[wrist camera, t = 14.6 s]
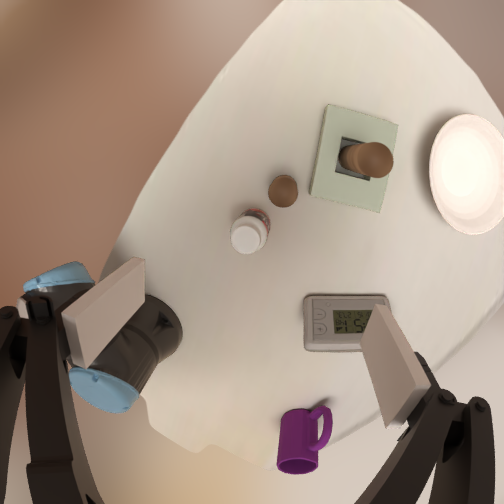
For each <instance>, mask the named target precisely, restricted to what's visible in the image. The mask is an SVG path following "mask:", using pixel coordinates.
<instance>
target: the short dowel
mask: <svg viewBox="0 0 504 504" xmlns="http://www.w3.org/2000/svg"><path fill="white" fill-rule="evenodd" d="M268 195H269V198H270V200H271V202H272V203H273V204H274V205H276V206H278V207H289V206H291V205H292V204H293V203H294V202H295V201H296V199H297V196H298V190H297V184H296V182H295V180H294V179H293V178H292V177H290V176H287V175H281V176H278V177H277V178H276V179H275V180H274V181H273V182H272V184H271V185H270V187H269V191H268Z"/></svg>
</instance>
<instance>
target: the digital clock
mask: <svg viewBox="0 0 504 504" xmlns="http://www.w3.org/2000/svg"><path fill="white" fill-rule="evenodd" d="M375 304H380V305H386V306H387V307H388V308H389V310H390V312H391V308H390V304H389V301H388V299H387V298H386V297H384V296H310V297H308V298H305V300H304V348H305V349H306V350H307V351H310V352H362V349H361V346H360V341H361V338H362V336H363V334H364V331H365V329H366V326H367V324H368V321H369V319H370V316H371V314H372V311H373V308H374V306H375ZM391 313H392V312H391Z"/></svg>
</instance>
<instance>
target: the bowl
mask: <svg viewBox="0 0 504 504" xmlns="http://www.w3.org/2000/svg"><path fill="white" fill-rule="evenodd" d="M429 178H430V186H431V190H432V195H433V198H434V201H435V203H436V206H437V208H438V210H439V211H440V213H441V215H442V216H443V218H444V219H445V220H446V221H447V222H448V223H449V225H450V226H452V227H453V228H455V229H456V230H457V231H460V232H462V233H465V234H472V235H476V234H481V233H485V232H487V231H489V230H491V229H492V228H493V227H495V226H496V225H497V224H498V223H499V222H500V220H501V219H502V218H503V217H504V138H503V136H502V135H501V134H500V132H499V131H498V130H497V128H496V127H494V126H493V125H492V124H491V123H490V122H489V121H487V120H485V119H484V118H482V117H480V116H477V115H474V114H462V115H458V116H455V117H454V118H452V119H450V120H448V121H447V122H446V123H445V124H444V125H443V126H442V127H441V129H440V131H439V132H438V134H437V136H436V138H435V140H434V143H433V146H432V149H431V155H430V160H429Z"/></svg>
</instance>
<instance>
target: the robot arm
mask: <svg viewBox="0 0 504 504" xmlns="http://www.w3.org/2000/svg"><path fill="white" fill-rule="evenodd" d="M23 287H24V292H25V293H26V294H24V295H23V296H21V297H20V298H18V300H17V306H16V307H13V306H5V307H2V308H1V309H0V504H4V499H5V494H6V485H7V473H8V463H9V455H10V448H11V441H12V436H13V430H14V425H15V420H16V416H17V410H18V407H19V403H20V398H21V395H22V391H23V387H24V384H25V392H26V394H25V396H26V418H27V430H28V440H29V447H30V455H31V463H29V464H27V467H26V472H27V478H28V484H29V488H30V493H31V497H32V501H33V504H104V502H103V500H102V498H101V497H100V495H99V493H98V490H97V488H96V485H95V482H94V479H93V477H92V473H91V471H90V467H89V464H88V461H87V457H86V454H85V450H84V447H83V443H82V439H81V436H80V431H79V427H78V423H77V418H76V414H75V409H74V404H73V398H72V393H71V386H72V388H73V389H74V390H75V391H76V392H77V394H79V395H80V396H81V397H82V398H83V399H84V400H85V401H87V402H88V403H90V404H91V405H93V406H95V407H97V408H99V409H101V410H103V411H107V412H110V413H124V412H126V411H128V410H129V409H130V408H131V406H132V405H133V404H134V402H135V401H136V400H137V399H138V398H139V395H140V393H141V391H142V389H143V388H144V386H145V384H146V383H147V381H148V379H149V378H150V376H151V374H152V373H153V371H154V369H155V368H156V366H157V364H158V363H160V362H161V361H163V360H164V359H166V358H167V357H168V356H170V355H172V354H173V353H174V352H175V351H176V349H177V348H178V346H179V344H180V342H181V340H182V328H181V324H180V322H179V320H178V318H177V316H176V315H175V313H174V312H173V311H172V310H171V309H170V308H169V307H168V306H167V305H166V304H165V303H163V302H162V301H160V300H159V299H157V298H155V297H152V296H149V295H145V259H141V258H136V257H133V258H131V259H130V260H129V261H127V262H126V263H124V264H123V265H122V266H120V267H119V268H118V269H116V270H115V271H114V272H112V273H111V274H110V275H108V276H107V277H106V278H104V279H103V280H102V281H100V282H99V283H98V284H97V285H95V281H94V280H92V279H91V277H90V275H89V273H88V272H87V270H86V268H85V267H84V265H83V264H82V263H79V262H70V263H67V264H64V265H62V266H59V267H56V268H54V269H52V270H50V271H47V272H45V273H43V274H41V275H40V276H37V277H35V278H32V279H31V280H29V281H27V282H26V283H25V284H24V285H23ZM360 346H361V349H362V352H363V355H364V358H365V361H366V364H367V367H368V370H369V374H370V377H371V380H372V383H373V386H374V390H375V393H376V396H377V400H378V403H379V406H380V410H381V413H382V417H383V421H384V424H385V428H386V429H393V428H401V426H402V425H403V424H404V423H405V421H406V420H407V421H408V424H409V427H408V428H407V429H406V430H405V431H404V433H403V434H402V435H401V436H400V438H399V439H398V440H397V441H399V442H398V443H397V445H396V447H395V449H394V450H393V452H392V453H391V455H390V456H389V458H388V459H387V461H386V462H385V464H384V465H383V466H382V468H381V470H380V471H379V472H378V474H377V475H376V477H375V478H374V479H373V480H372V482H371V483H370V485H369V486H368V487H367V488H366V490H365V491H364V492H363V494H362V495H361V496H360V497H359V499H358V500H357V501H356V502H355V503H354V504H416V502H417V500H418V498H419V496H420V494H421V493H422V491H423V489H424V487H425V485H426V483H427V481H428V479H429V477H430V475H431V472H432V470H433V468H434V466H435V464H436V469H435V475H434V480H433V485H432V490H431V495H430V499H429V504H494V494H495V451H494V450H495V449H494V435H493V425H492V416H491V409H490V406H489V404H488V403H487V401H486V400H485V399H483V398H481V397H472V399H471V400H470V401H469V402H468V404H464V403H459V402H457V400H456V397H455V396H454V395H453V394H452V393H451V392H450V391H448V390H445V389H441V388H440V387H439V385H438V383H437V381H436V379H435V377H434V375H433V373H432V372H431V370H430V368H429V366H428V364H427V363H426V361H425V359H424V358H423V357H422V356H421V355H420V354H419V353H418V352H414V351H413V350H412V348H411V346H410V344H409V342H408V341H407V339H406V337H405V335H404V334H403V332H402V330H401V329H400V327H399V325H398V323H397V322H396V320H395V318H394V317H393V315H392V313H391V312H390V310H389V308H388V307H387V306H386V305H380V304H375V306H374V308H373V311H372V314H371V316H370V319H369V321H368V324H367V326H366V329H365V331H364V334H363V336H362V338H361V341H360ZM66 360H67V361H68V362H69V364H70V365H71V367H72V368H71V369H70V371H69V372H68V364H67V361H66ZM70 385H71V386H70ZM436 461H437V462H436Z"/></svg>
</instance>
